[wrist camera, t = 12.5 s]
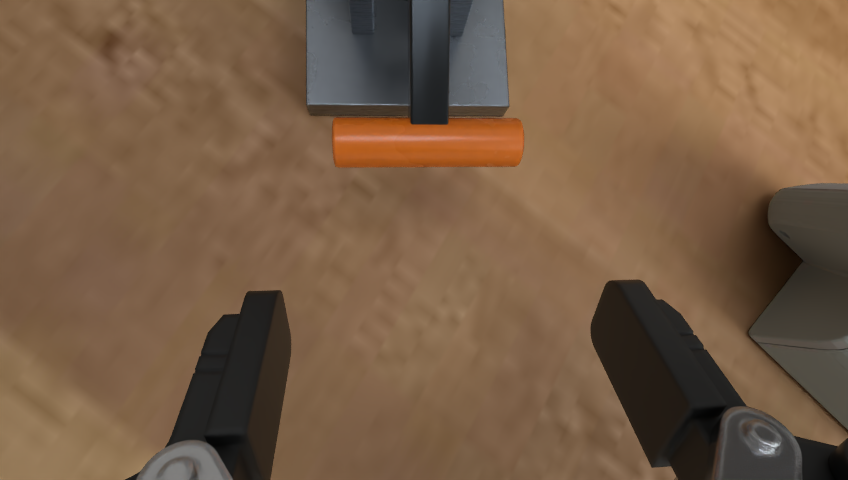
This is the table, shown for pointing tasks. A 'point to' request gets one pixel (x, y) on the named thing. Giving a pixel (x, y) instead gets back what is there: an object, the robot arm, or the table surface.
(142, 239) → the table surface
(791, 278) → the digital clock
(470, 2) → the switch bracket
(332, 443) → the table surface
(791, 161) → the table surface
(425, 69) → the switch lever
